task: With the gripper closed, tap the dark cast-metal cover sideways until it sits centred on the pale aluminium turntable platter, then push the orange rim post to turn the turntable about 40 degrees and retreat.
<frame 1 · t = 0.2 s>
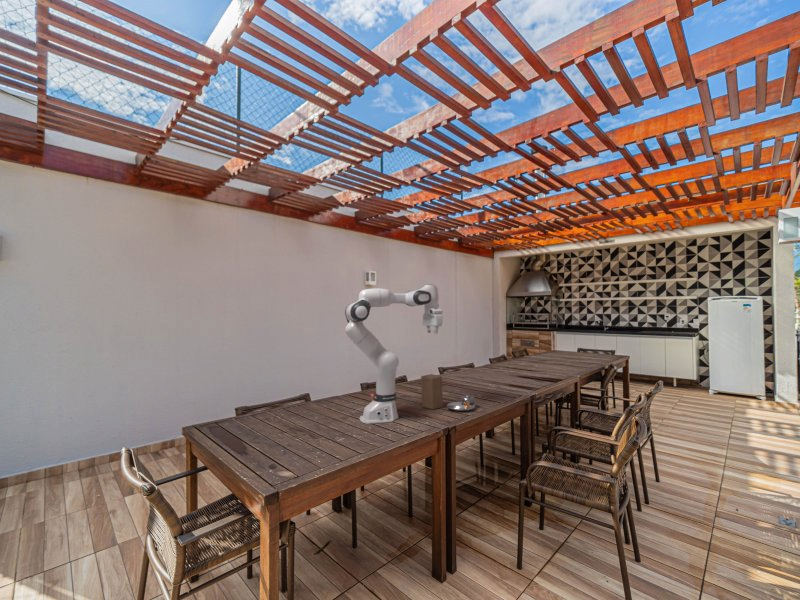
hand: (432, 333, 222), 48 cm above the table, fingers open, 8 cm apart
wooden block: (432, 407, 230), on the table
cast cover: (467, 403, 225), point 3 cm above the table, touching turntable
turntable: (460, 403, 224), point 3 cm above the table, hinge at 0.0°, touching cast cover
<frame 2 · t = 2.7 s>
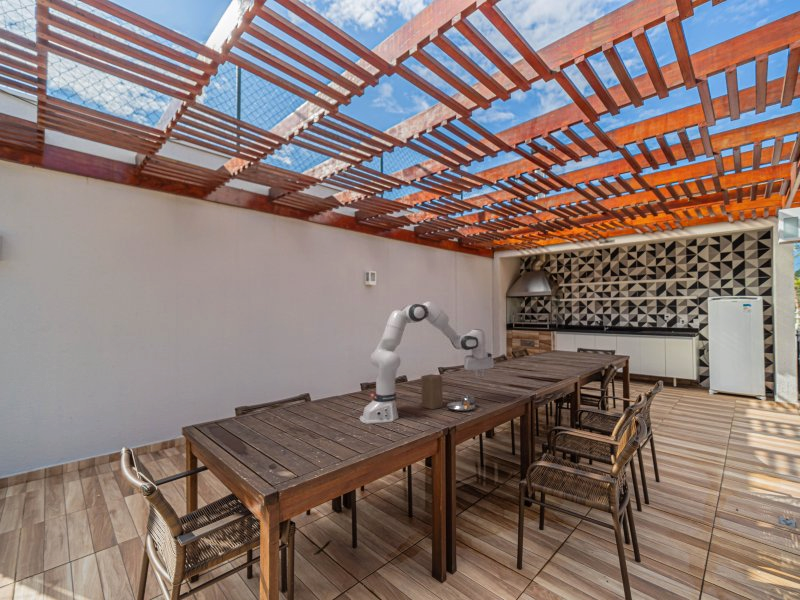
hand: (479, 376, 229), 19 cm above the table, fingers closed
nothing on the table moved.
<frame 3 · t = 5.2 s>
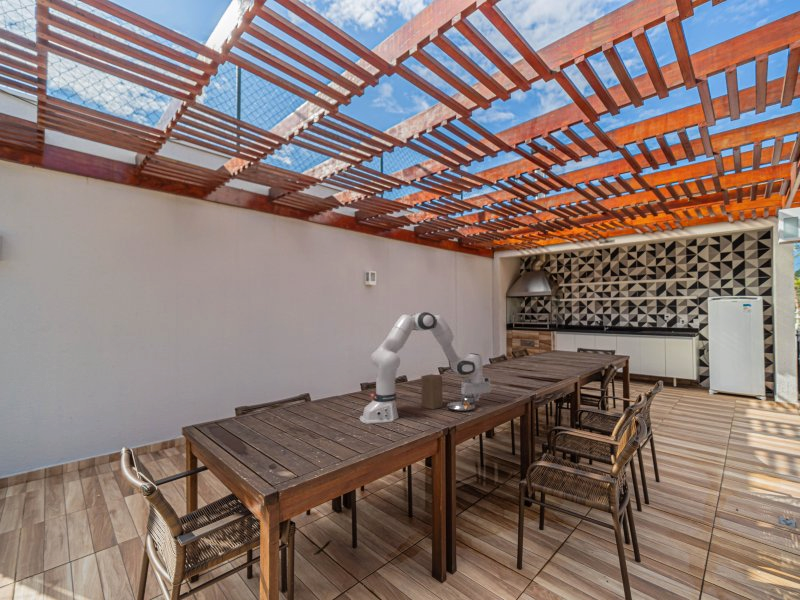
hand: (476, 401, 228), 4 cm above the table, fingers closed
cast cover: (467, 403, 225), point 3 cm above the table, touching gripper, turntable
everything else where it was.
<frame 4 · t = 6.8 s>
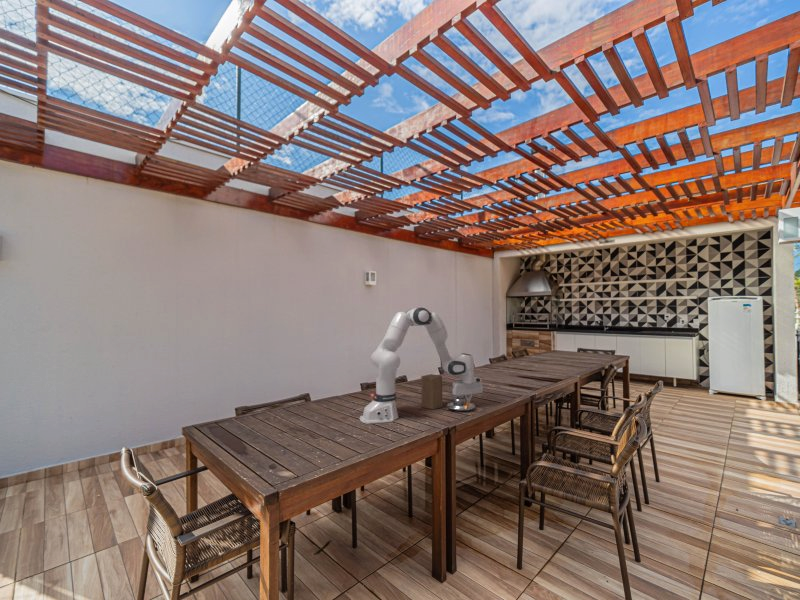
hand: (467, 401, 225), 4 cm above the table, fingers closed
cast cover: (459, 404, 223), point 3 cm above the table, touching gripper, turntable
everything else where it was.
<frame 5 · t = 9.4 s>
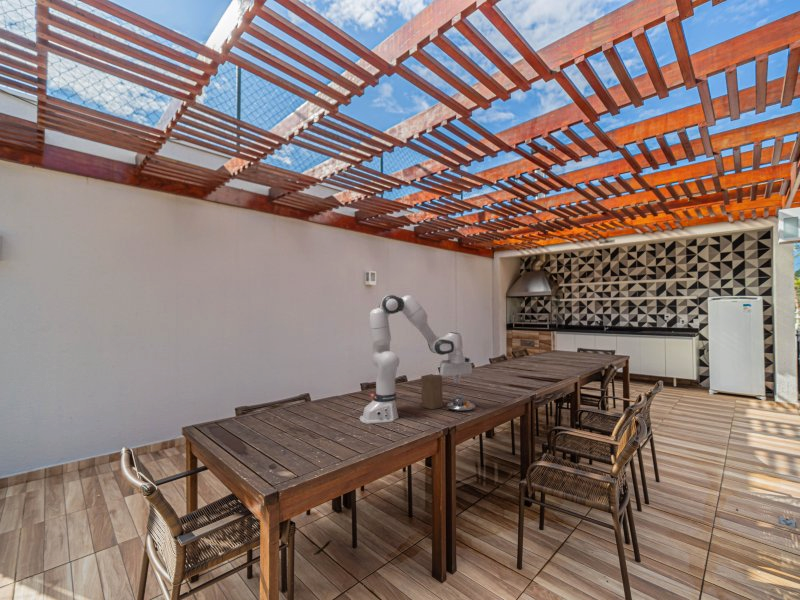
hand: (456, 382, 215), 18 cm above the table, fingers closed
cast cover: (459, 404, 223), point 3 cm above the table, touching turntable
everything else where it was.
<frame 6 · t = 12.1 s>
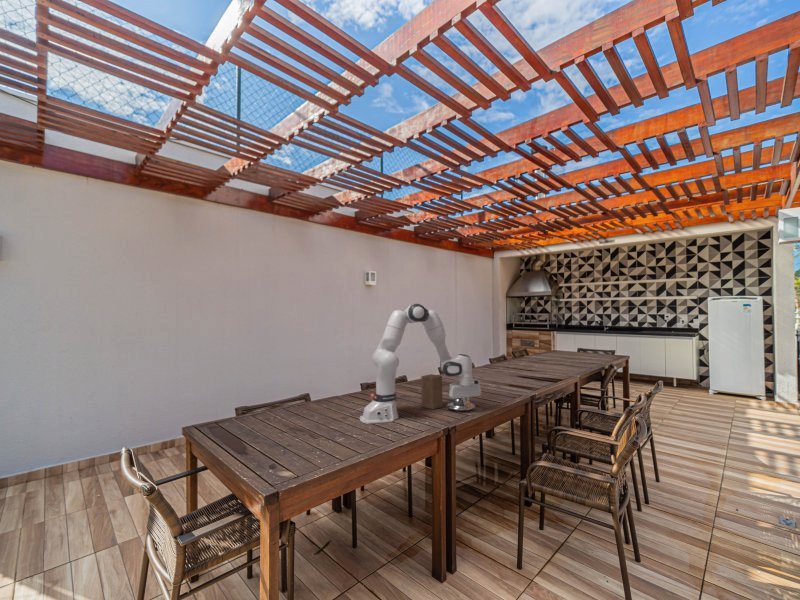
hand: (465, 404, 216), 5 cm above the table, fingers closed
turntable: (460, 403, 224), point 3 cm above the table, hinge at 5.7°, touching cast cover, gripper
everything else where it was.
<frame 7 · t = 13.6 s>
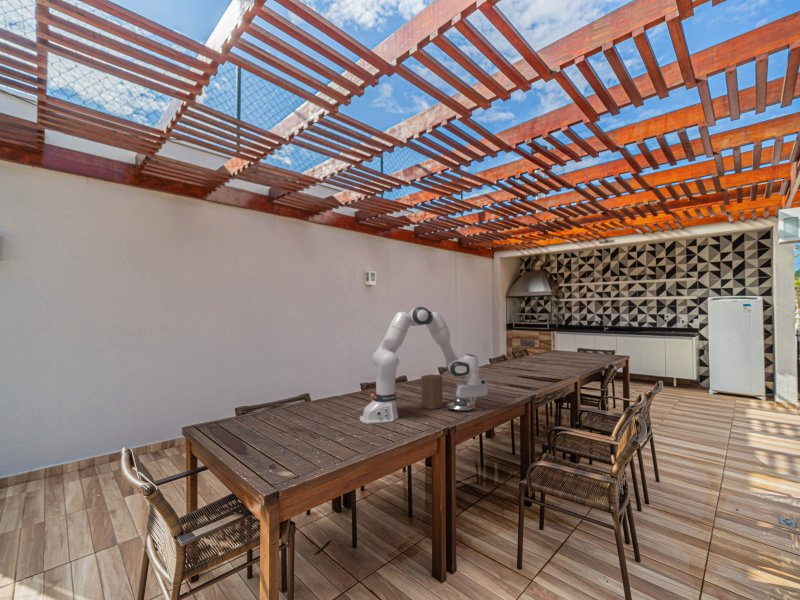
hand: (472, 404, 218), 4 cm above the table, fingers closed
turntable: (460, 403, 224), point 3 cm above the table, hinge at 45.1°, touching cast cover, gripper
everything else where it was.
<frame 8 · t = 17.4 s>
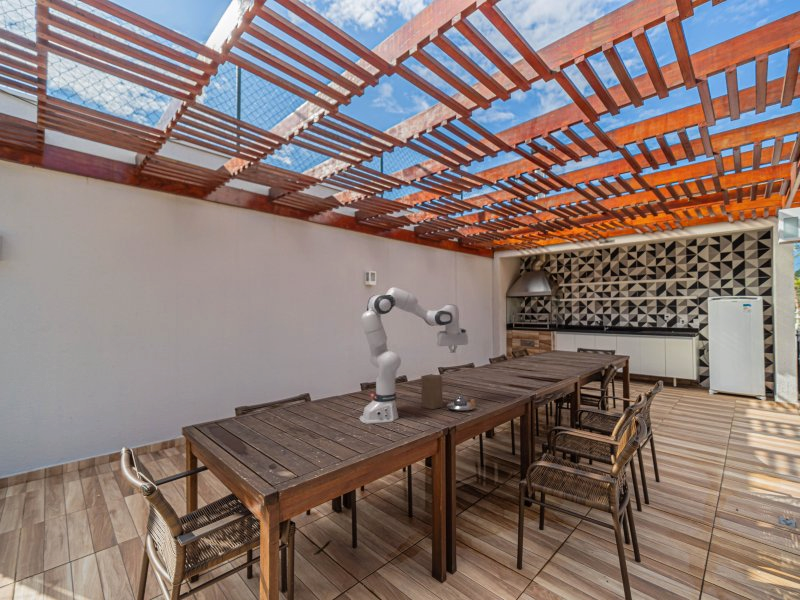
hand: (453, 352, 224), 35 cm above the table, fingers closed
turntable: (460, 403, 224), point 3 cm above the table, hinge at 45.3°, touching cast cover
everything else where it was.
at the end: cast cover 1.0 cm from the turntable (horizontally); turntable at +45° (first picture: +0°); cast cover tilted 0° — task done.
